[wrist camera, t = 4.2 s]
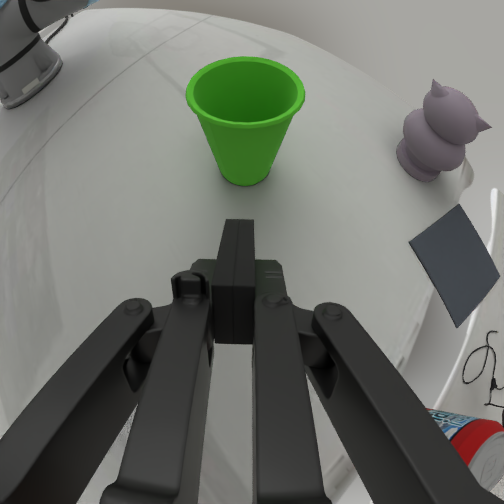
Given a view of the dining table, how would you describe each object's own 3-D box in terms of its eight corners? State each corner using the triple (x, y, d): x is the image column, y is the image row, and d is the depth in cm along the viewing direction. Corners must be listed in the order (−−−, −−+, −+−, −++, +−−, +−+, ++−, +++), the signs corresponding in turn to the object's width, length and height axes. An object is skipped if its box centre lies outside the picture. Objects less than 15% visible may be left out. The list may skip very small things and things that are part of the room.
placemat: (408, 242, 27) (409, 241, 27) (458, 204, 29) (459, 203, 29) (456, 328, 24) (457, 328, 24) (499, 276, 26) (500, 276, 26)
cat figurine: (448, 162, 31) (494, 108, 20) (437, 200, 29) (495, 143, 18) (398, 126, 33) (435, 62, 21) (381, 159, 30) (425, 87, 19)
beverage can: (439, 400, 22) (524, 410, 10) (433, 456, 19) (507, 485, 8) (385, 413, 22) (467, 441, 10) (379, 473, 19) (446, 522, 8)
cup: (304, 162, 30) (326, 84, 19) (252, 221, 27) (256, 146, 17) (238, 123, 31) (237, 46, 21) (184, 173, 29) (160, 95, 19)
